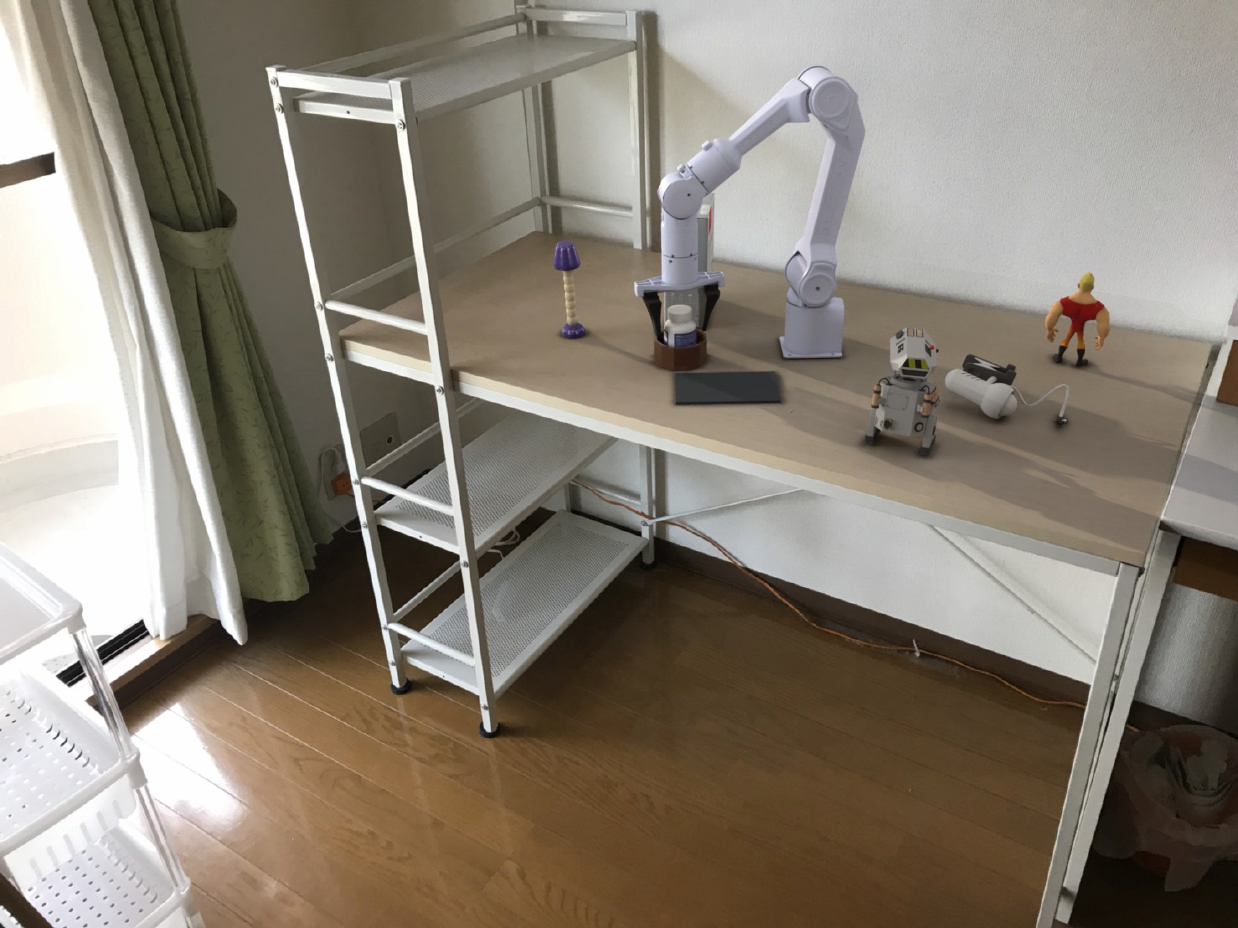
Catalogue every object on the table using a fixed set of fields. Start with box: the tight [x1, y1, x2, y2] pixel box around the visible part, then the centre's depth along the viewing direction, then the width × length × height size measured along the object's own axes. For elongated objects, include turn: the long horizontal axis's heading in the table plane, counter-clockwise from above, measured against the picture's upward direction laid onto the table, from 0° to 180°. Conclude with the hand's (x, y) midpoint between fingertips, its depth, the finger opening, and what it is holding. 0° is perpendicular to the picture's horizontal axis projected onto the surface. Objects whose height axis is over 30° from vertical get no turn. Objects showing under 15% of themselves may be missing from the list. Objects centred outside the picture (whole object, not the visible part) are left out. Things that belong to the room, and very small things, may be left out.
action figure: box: [1044, 272, 1111, 368], centre depth 155 cm, size 10×4×15 cm, turn 59°
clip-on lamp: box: [944, 353, 1071, 425], centre depth 145 cm, size 12×6×18 cm
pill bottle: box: [663, 305, 697, 347], centre depth 163 cm, size 5×5×9 cm
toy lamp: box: [552, 240, 586, 339], centre depth 171 cm, size 5×5×17 cm
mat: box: [674, 370, 782, 405], centre depth 155 cm, size 16×10×1 cm, turn 88°
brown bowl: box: [653, 327, 708, 371], centre depth 164 cm, size 9×9×4 cm
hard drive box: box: [663, 192, 716, 328], centre depth 177 cm, size 16×8×20 cm, turn 171°
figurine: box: [863, 327, 942, 456], centre depth 137 cm, size 9×12×15 cm
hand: (680, 331), depth 163 cm, fingers open, 7 cm apart
